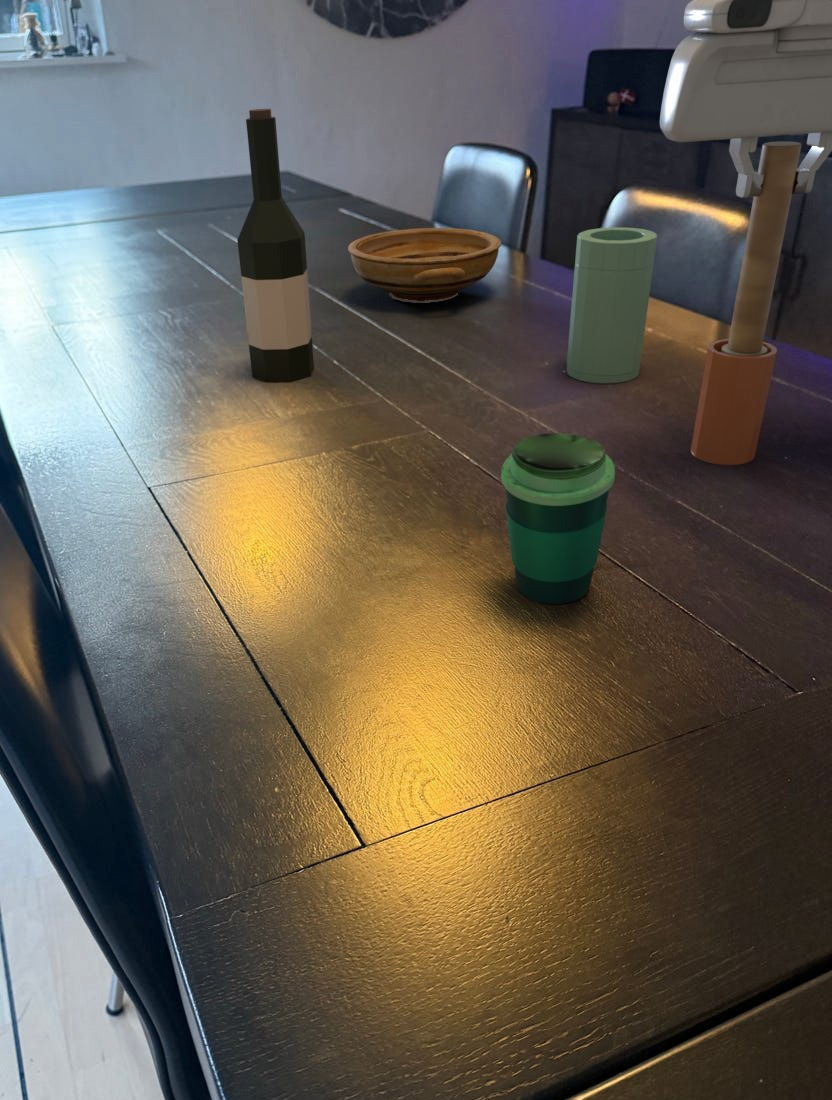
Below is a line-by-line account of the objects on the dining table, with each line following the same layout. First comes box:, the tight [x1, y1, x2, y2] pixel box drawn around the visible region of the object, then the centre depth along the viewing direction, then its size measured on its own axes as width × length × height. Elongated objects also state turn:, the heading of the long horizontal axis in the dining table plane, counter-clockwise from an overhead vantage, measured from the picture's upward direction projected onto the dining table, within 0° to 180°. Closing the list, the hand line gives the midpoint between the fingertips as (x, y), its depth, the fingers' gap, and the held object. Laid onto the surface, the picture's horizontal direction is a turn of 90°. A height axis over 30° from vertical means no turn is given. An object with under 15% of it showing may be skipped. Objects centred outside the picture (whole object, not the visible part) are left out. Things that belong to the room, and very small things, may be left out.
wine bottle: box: [237, 108, 315, 383], centre depth 113 cm, size 8×8×30 cm
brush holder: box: [690, 338, 778, 466], centre depth 90 cm, size 6×6×11 cm
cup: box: [500, 432, 616, 605], centre depth 70 cm, size 8×8×12 cm
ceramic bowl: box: [347, 227, 502, 301], centre depth 149 cm, size 30×24×8 cm
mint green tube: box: [566, 226, 658, 384], centre depth 111 cm, size 9×9×16 cm
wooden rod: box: [721, 140, 802, 356], centre depth 83 cm, size 4×4×22 cm
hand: (772, 194), depth 79 cm, fingers closed on wooden rod, 3 cm apart
